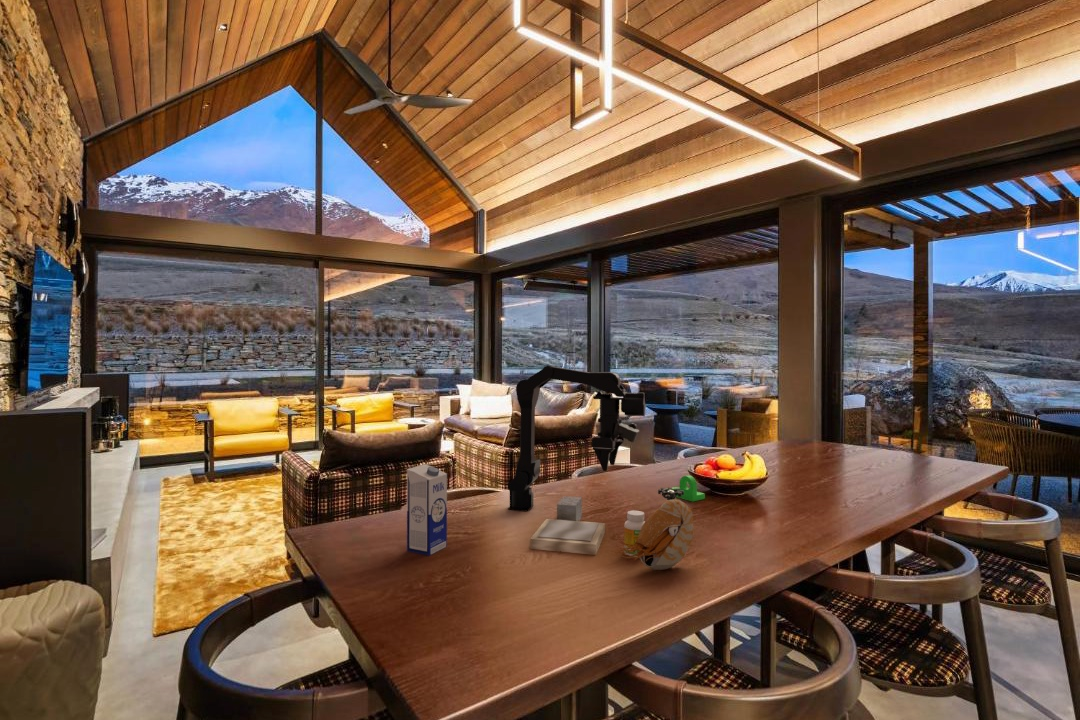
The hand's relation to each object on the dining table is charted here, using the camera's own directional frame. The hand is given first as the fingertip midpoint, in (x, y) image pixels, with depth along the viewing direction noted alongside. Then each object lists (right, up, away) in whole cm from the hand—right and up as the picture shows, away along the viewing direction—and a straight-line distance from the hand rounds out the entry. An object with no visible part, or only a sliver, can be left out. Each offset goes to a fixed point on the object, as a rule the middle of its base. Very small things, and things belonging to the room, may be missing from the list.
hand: (608, 467), depth 159 cm
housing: (-12, -14, -6) cm, 19 cm away
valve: (+14, -14, -18) cm, 27 cm away
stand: (-13, -14, -22) cm, 29 cm away
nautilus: (+5, -15, -42) cm, 44 cm away
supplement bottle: (+3, -14, -31) cm, 34 cm away
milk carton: (-47, -14, -29) cm, 57 cm away
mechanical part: (+28, -15, +23) cm, 39 cm away
